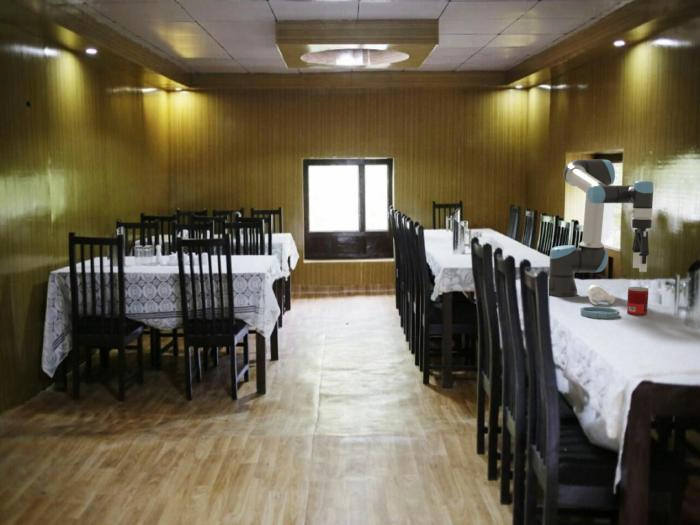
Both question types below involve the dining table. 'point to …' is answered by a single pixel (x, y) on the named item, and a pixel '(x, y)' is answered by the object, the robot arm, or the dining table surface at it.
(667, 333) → the dining table surface
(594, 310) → the dish
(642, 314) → the canned food
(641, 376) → the dining table surface
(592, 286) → the penguin figurine
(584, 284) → the dining table surface
